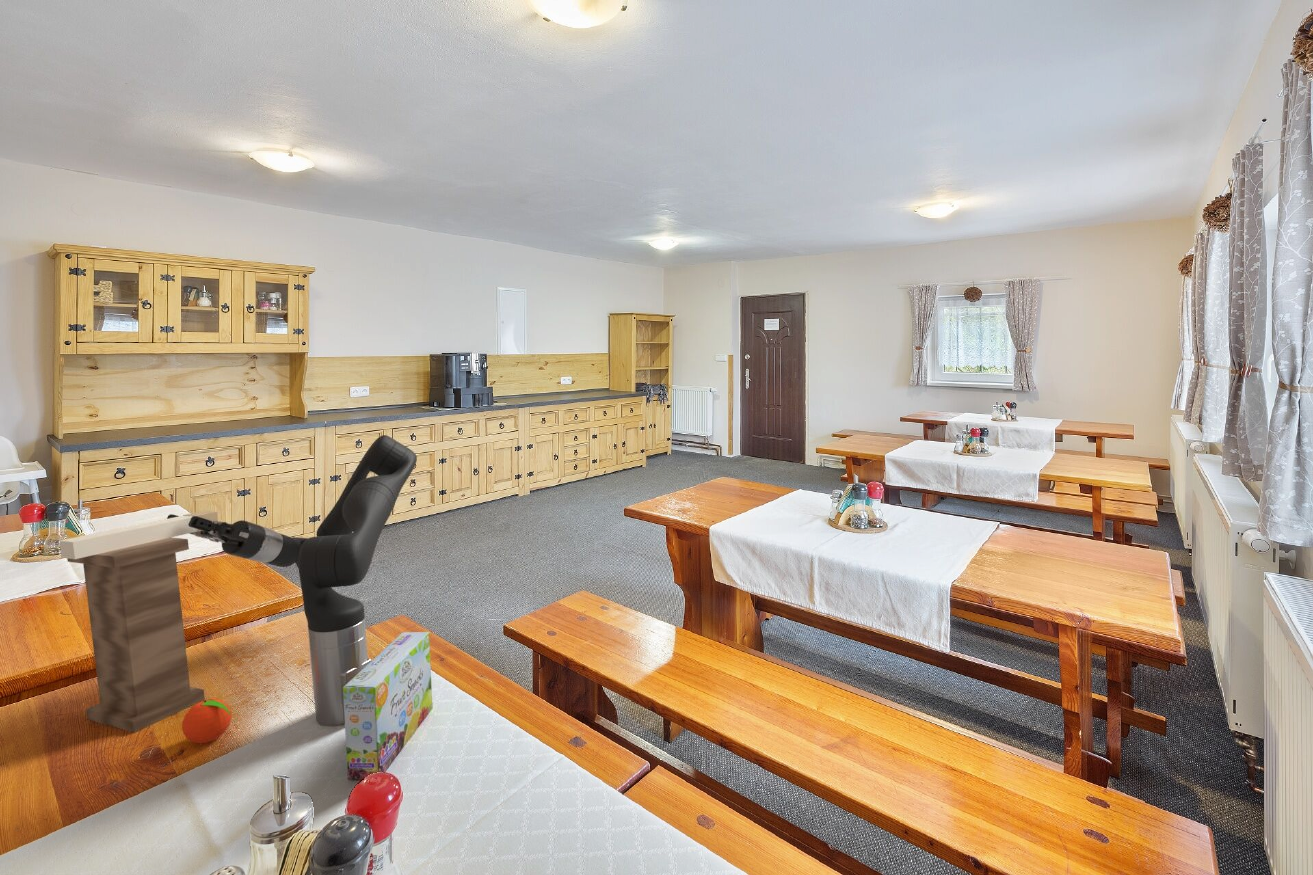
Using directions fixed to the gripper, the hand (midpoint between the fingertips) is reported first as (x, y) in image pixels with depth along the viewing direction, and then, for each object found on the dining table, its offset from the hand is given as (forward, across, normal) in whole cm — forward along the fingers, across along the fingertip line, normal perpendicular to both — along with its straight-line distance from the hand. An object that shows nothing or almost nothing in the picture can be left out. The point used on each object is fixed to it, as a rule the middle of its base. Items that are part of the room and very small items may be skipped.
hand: (179, 519), depth 123 cm
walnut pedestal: (-9, 0, +34) cm, 36 cm away
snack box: (-16, +54, +31) cm, 64 cm away
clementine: (-7, +23, +36) cm, 43 cm away
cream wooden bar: (+4, 0, +5) cm, 7 cm away
